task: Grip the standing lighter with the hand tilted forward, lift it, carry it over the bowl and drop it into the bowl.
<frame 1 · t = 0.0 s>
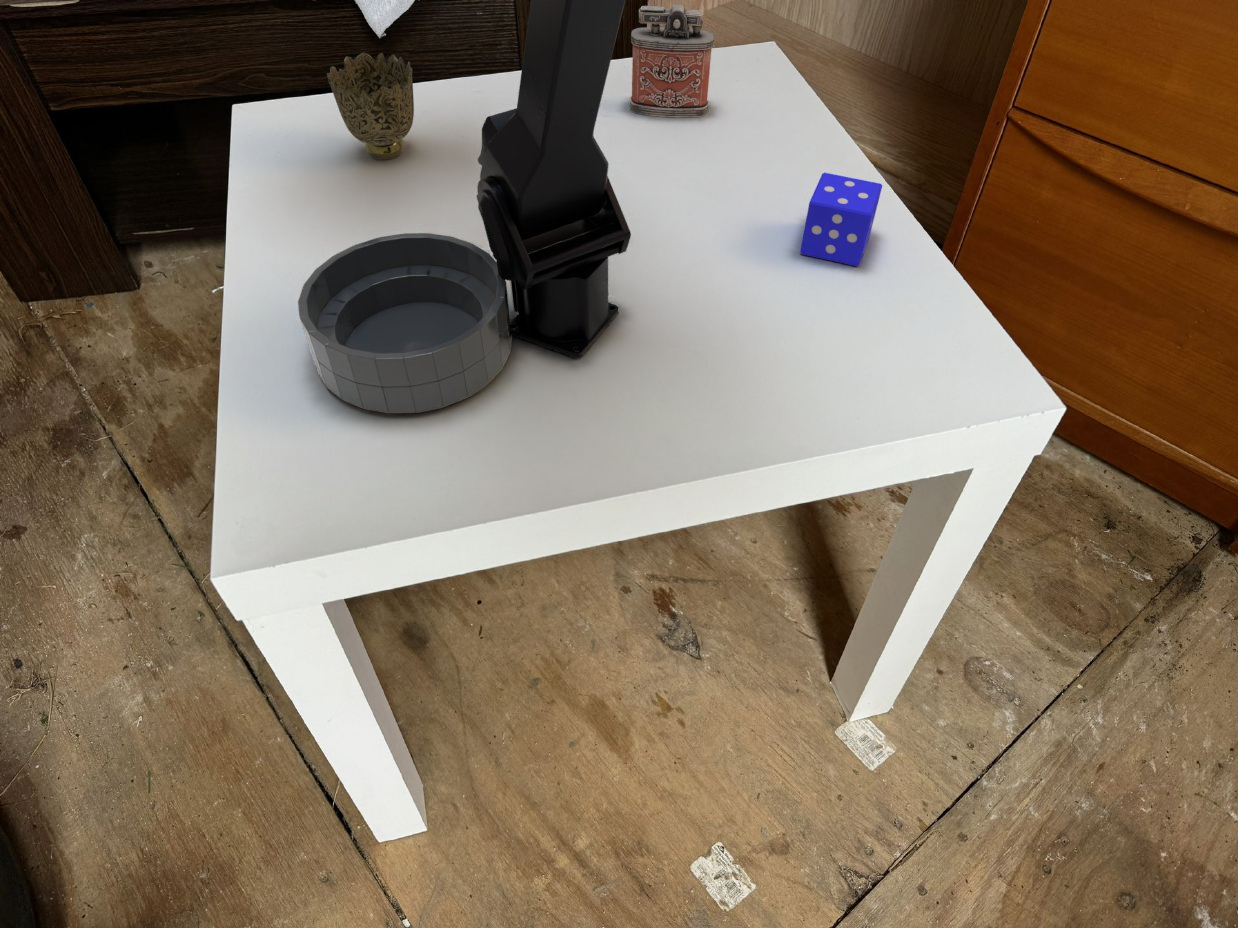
lighter: (668, 111, 91), on the table
cup: (386, 154, 85), on the table
die: (834, 247, 75), on the table
bowl: (416, 351, 66), on the table
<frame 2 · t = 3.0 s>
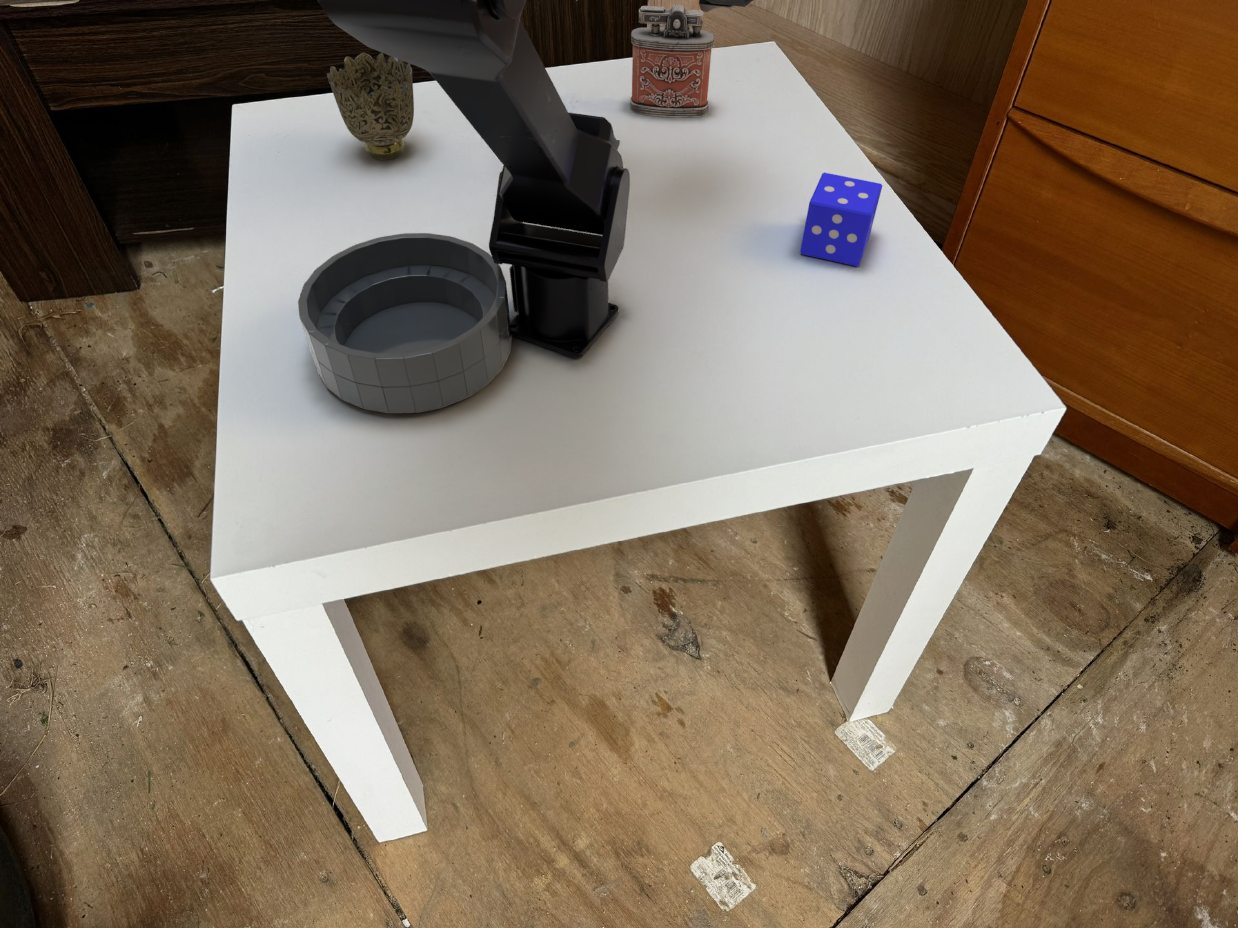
hand: (653, 0, 76), 14 cm above the table, tool tilted 45°, fingers open, 9 cm apart
nothing on the table moved.
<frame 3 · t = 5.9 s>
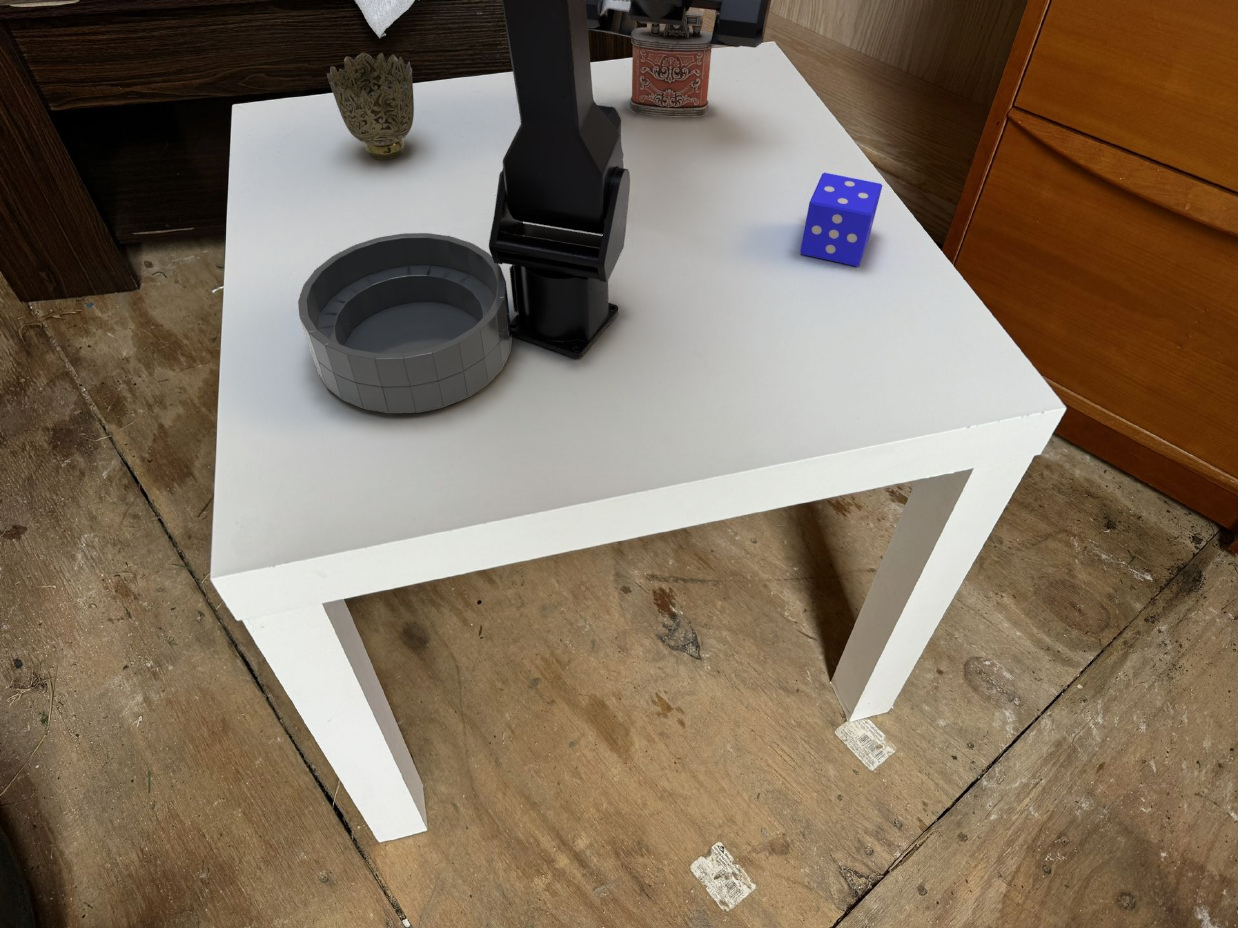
hand: (675, 37, 87), 7 cm above the table, tool tilted 45°, fingers closed on lighter, 8 cm apart
lighter: (668, 111, 91), on the table, touching gripper
everything else where it was.
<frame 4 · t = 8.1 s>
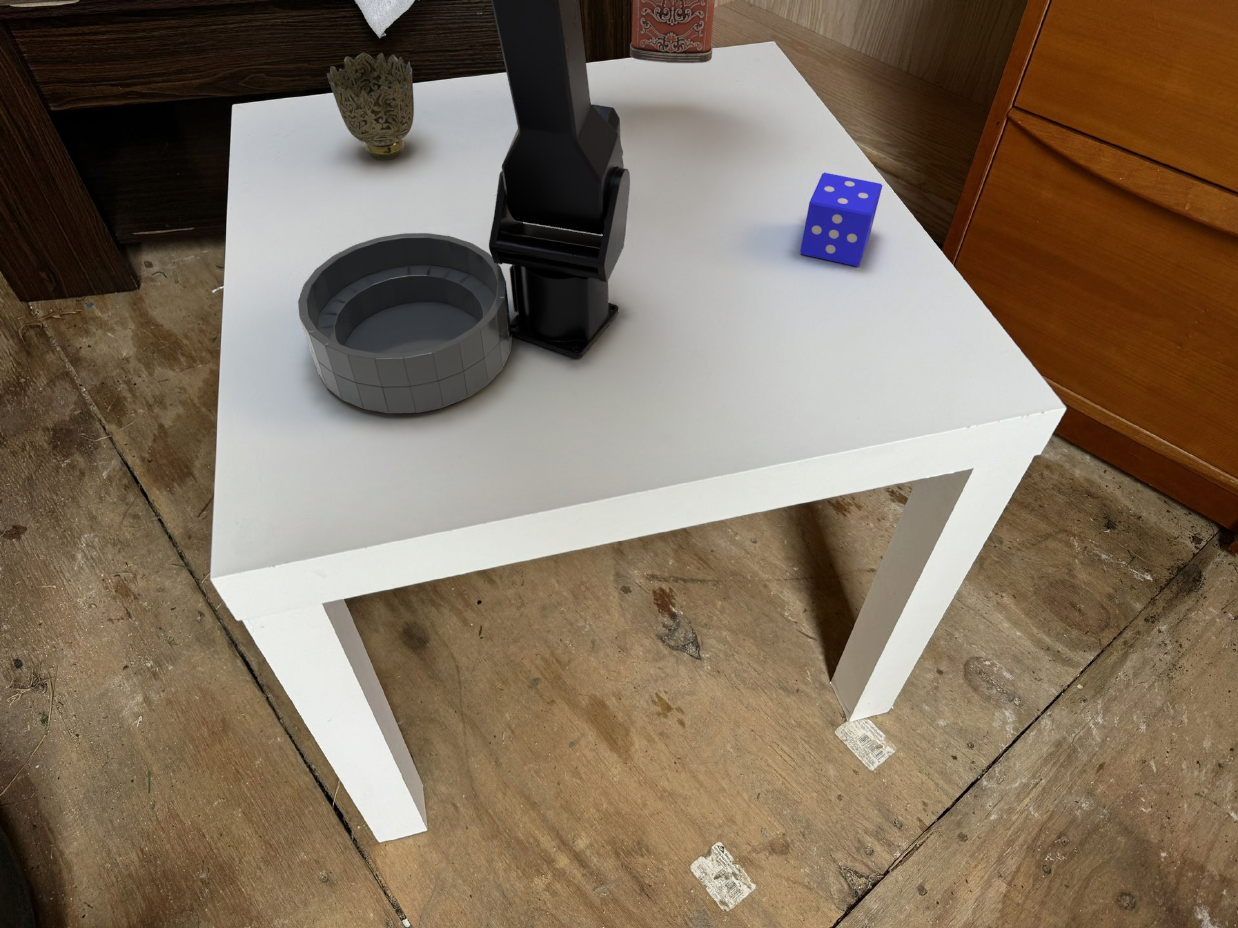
lighter: (670, 57, 87), point 5 cm above the table, touching gripper
everything else where it was.
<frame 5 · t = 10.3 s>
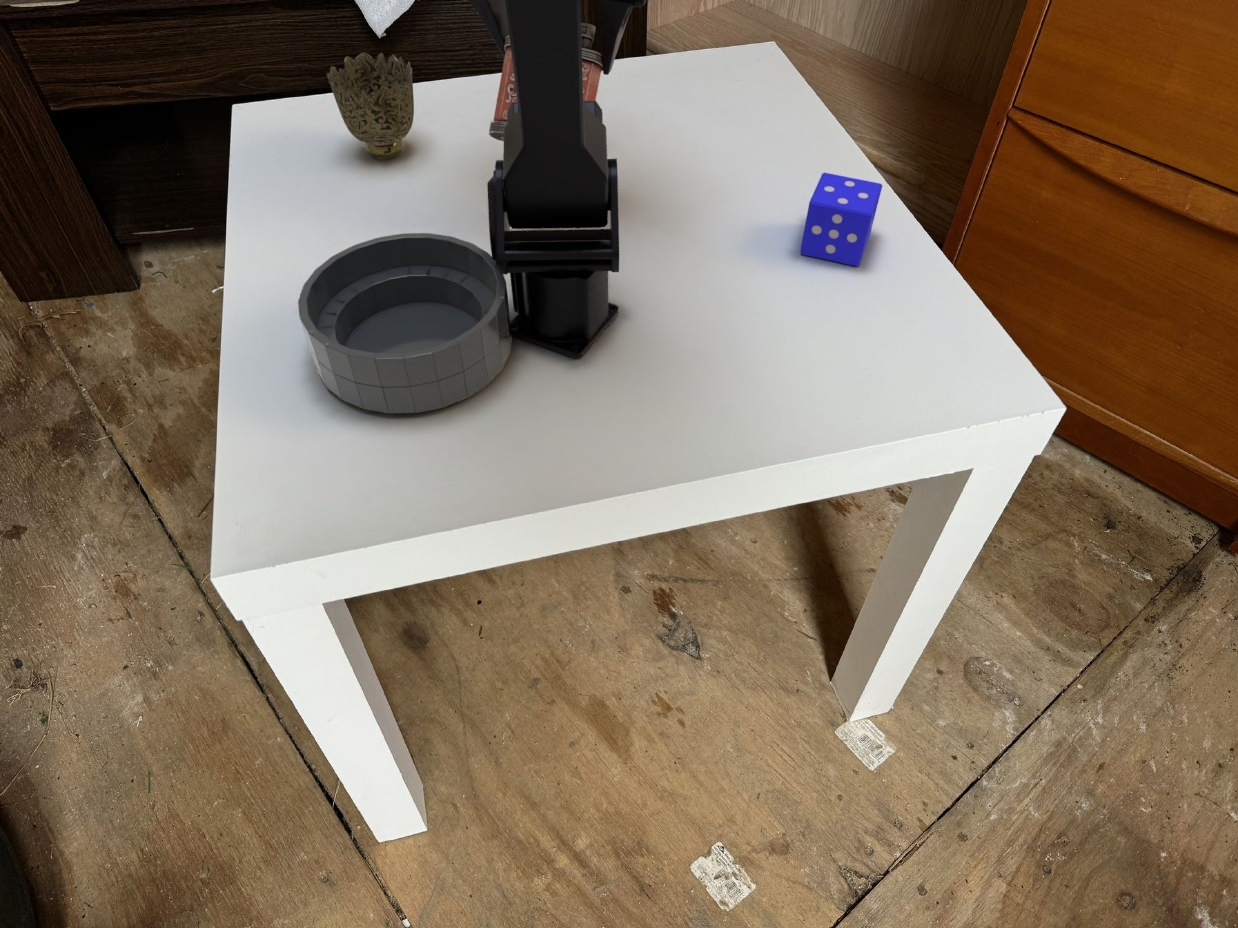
hand: (558, 66, 71), 12 cm above the table, tool pointing down, fingers closed on lighter, 8 cm apart
lighter: (537, 147, 71), point 8 cm above the table, touching gripper
everything else where it was.
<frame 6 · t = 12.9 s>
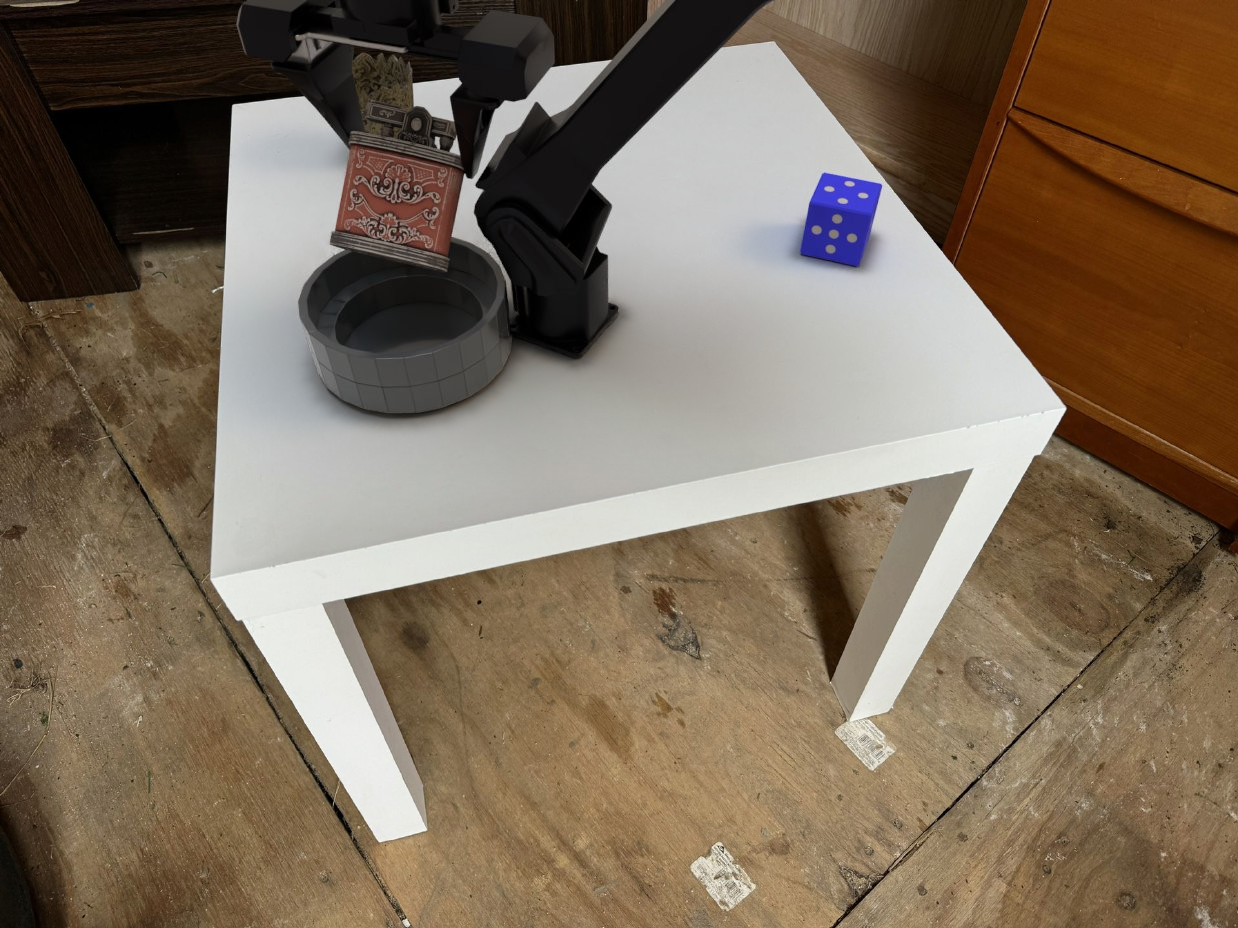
hand: (416, 165, 60), 12 cm above the table, tool pointing down, fingers closed on lighter, 8 cm apart
lighter: (388, 261, 60), point 8 cm above the table, touching gripper
everything else where it was.
when the fingers open (10 cm above the table, at t = 14.8 s): lighter drops 1 cm, resting on bowl.
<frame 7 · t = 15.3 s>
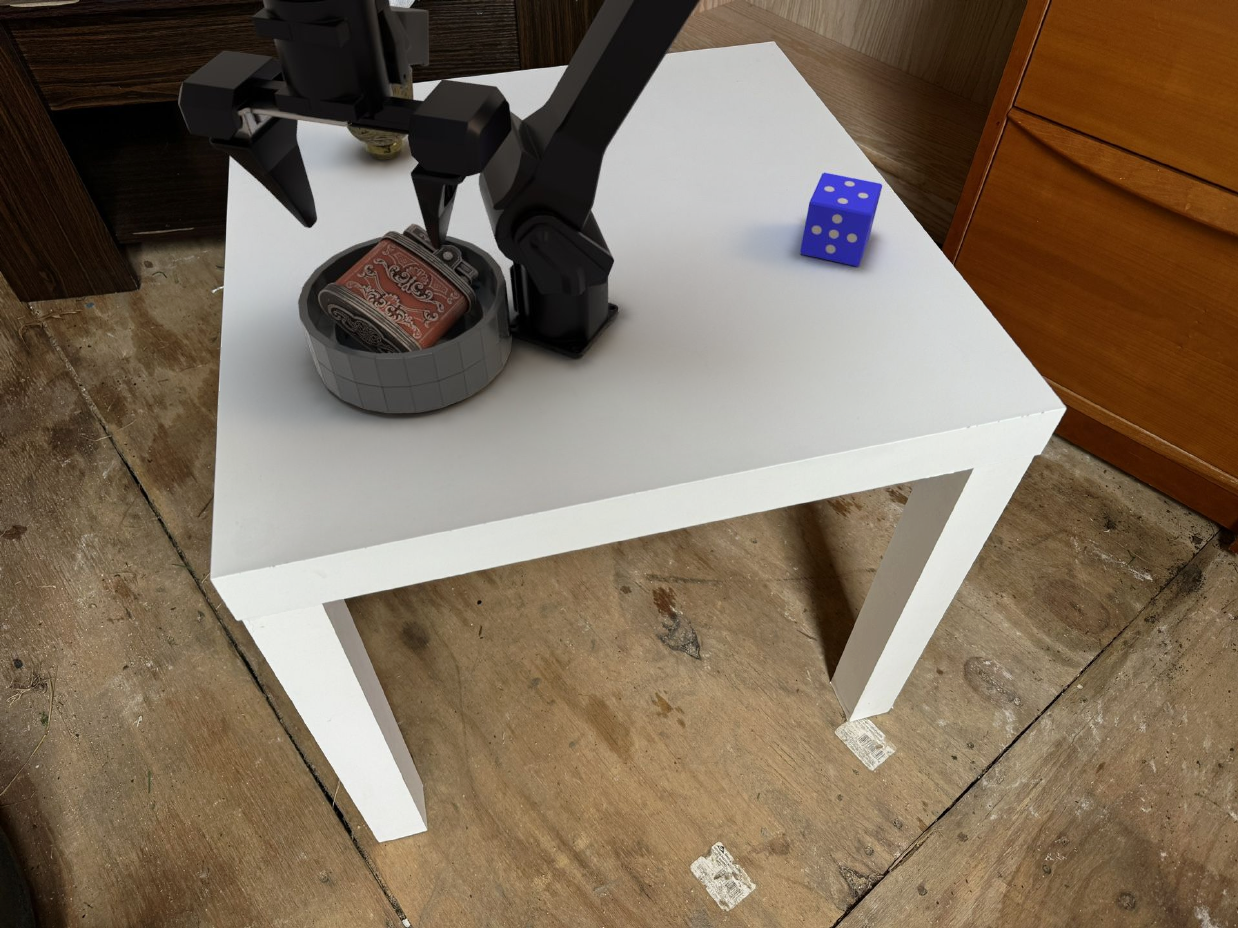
hand: (374, 235, 58), 10 cm above the table, tool pointing down, fingers open, 9 cm apart
lighter: (365, 333, 60), point 5 cm above the table, touching bowl
everything else where it was.
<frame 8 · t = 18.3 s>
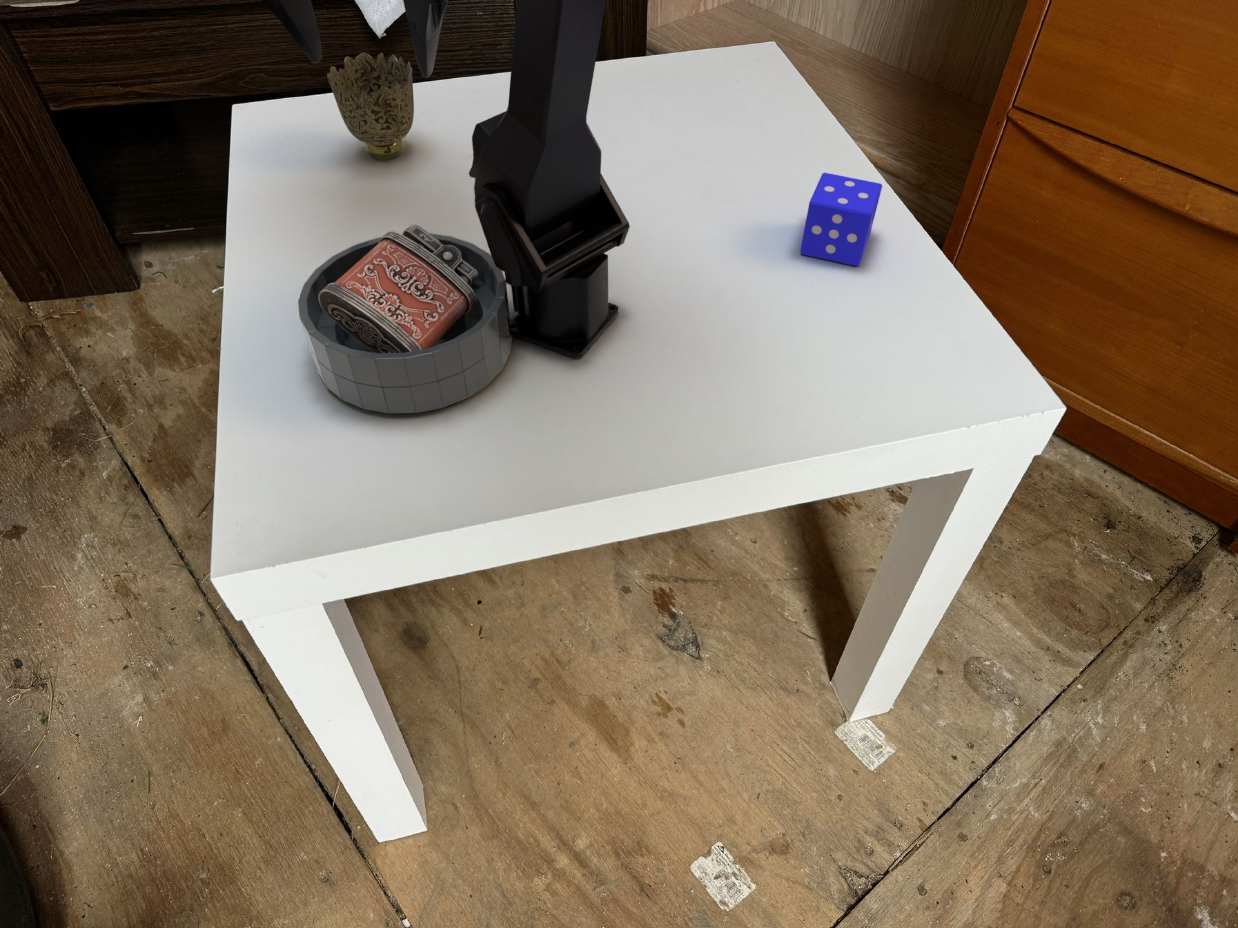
hand: (372, 68, 68), 13 cm above the table, tool pointing down, fingers open, 9 cm apart
nothing on the table moved.
at the end: lighter inside the target area in the bowl (4.2 cm from its centre), point 4.7 cm above the bowl's base; the gripper is holding nothing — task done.
